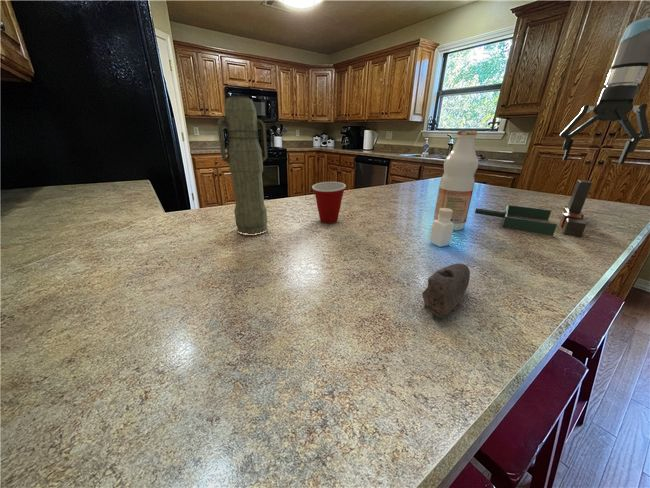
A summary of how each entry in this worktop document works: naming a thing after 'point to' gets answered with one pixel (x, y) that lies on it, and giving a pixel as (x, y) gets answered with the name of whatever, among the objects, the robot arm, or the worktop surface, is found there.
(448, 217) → the pepper shaker
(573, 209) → the brush
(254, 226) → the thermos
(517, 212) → the dustpan
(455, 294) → the perforated stone tool
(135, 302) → the worktop surface
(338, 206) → the plastic cup
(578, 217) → the crumb block
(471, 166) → the fruit juice
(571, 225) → the crumb block
